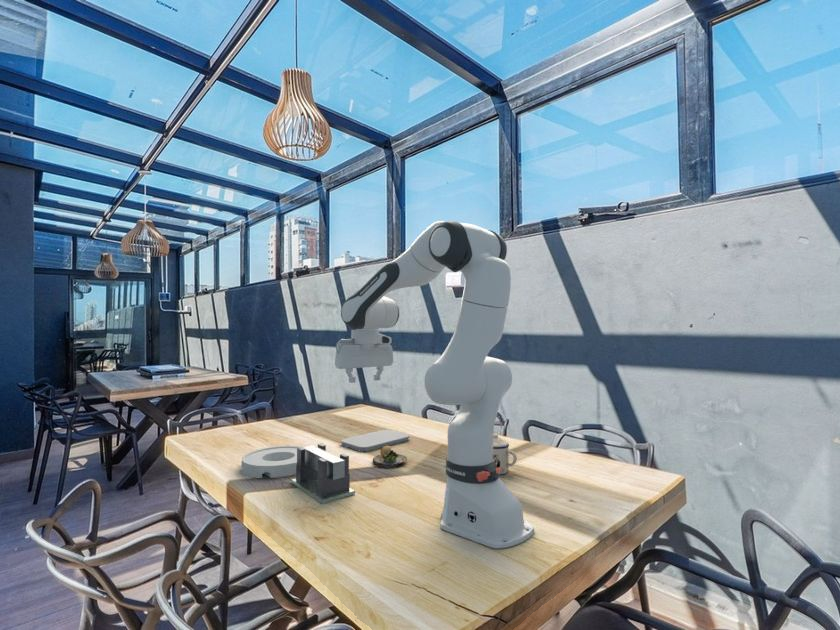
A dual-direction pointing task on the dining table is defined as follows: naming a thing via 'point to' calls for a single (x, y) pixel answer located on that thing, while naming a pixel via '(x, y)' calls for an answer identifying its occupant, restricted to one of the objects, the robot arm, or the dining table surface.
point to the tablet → (375, 440)
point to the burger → (388, 458)
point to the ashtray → (270, 462)
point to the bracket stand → (321, 479)
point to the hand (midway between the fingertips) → (364, 381)
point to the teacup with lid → (502, 454)
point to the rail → (333, 463)
